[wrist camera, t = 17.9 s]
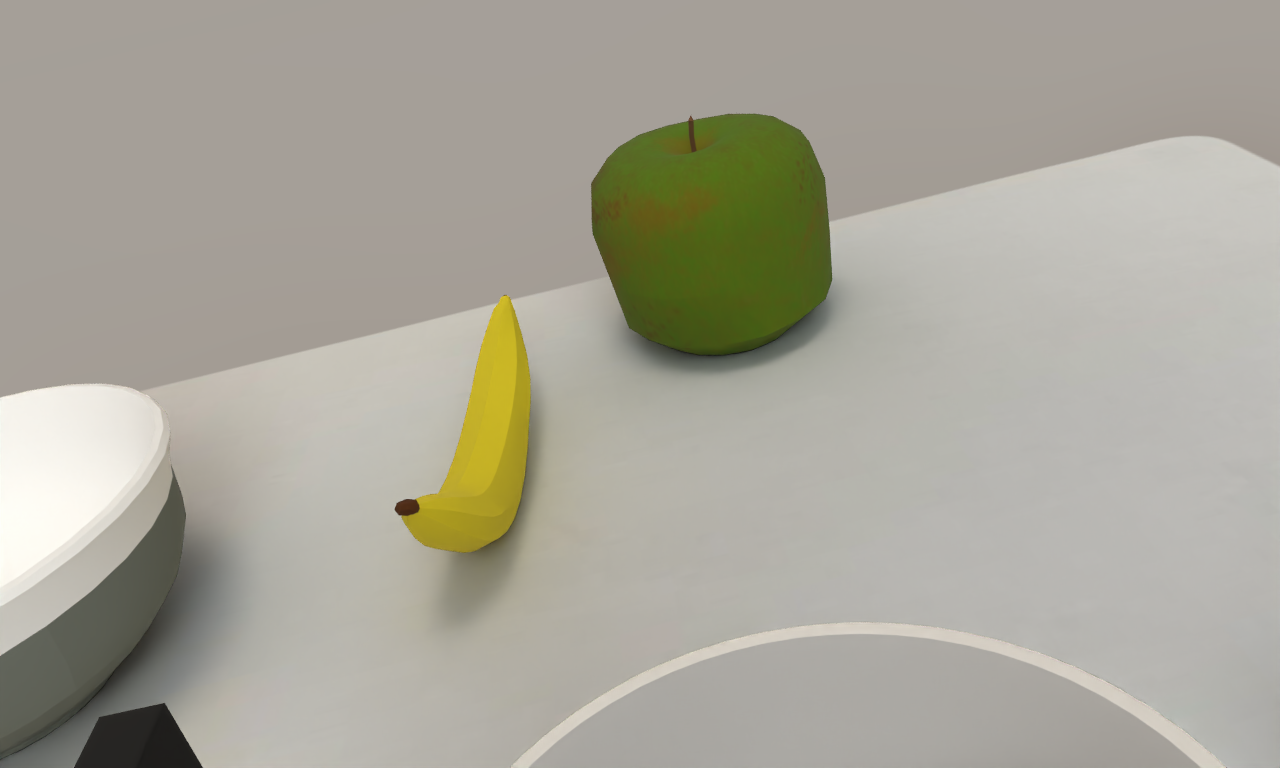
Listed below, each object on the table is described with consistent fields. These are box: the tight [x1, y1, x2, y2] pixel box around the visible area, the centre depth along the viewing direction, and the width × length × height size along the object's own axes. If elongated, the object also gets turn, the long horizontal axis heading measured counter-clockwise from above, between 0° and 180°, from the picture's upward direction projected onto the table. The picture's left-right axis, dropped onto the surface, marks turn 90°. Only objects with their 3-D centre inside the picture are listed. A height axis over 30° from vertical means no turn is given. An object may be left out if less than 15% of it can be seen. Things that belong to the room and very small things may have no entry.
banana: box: [395, 295, 531, 553], centre depth 47 cm, size 3×19×6 cm, turn 177°
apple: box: [591, 114, 832, 355], centre depth 55 cm, size 11×11×11 cm
